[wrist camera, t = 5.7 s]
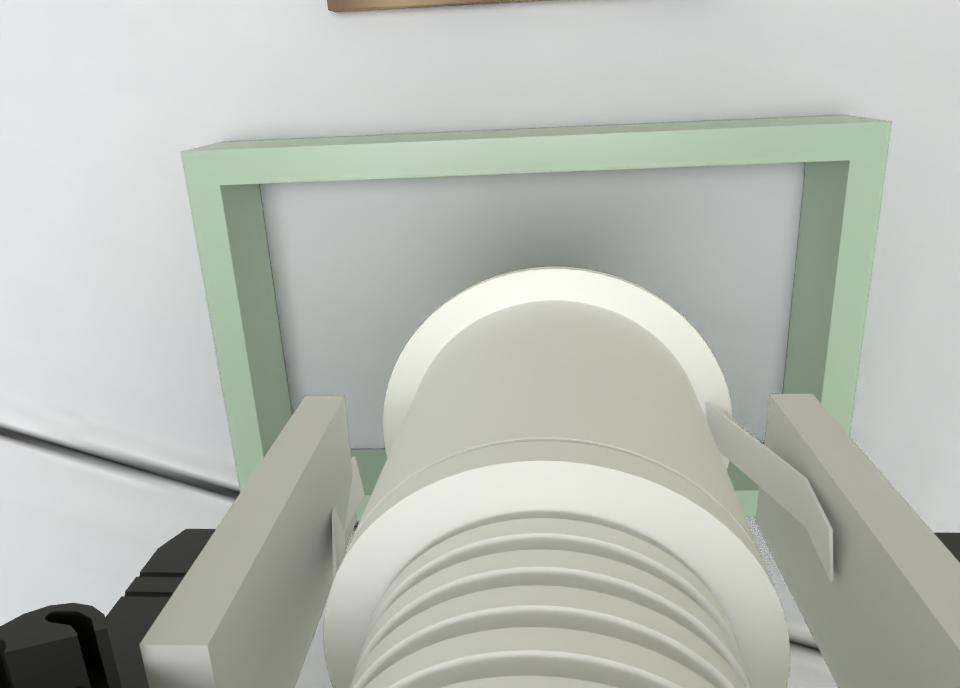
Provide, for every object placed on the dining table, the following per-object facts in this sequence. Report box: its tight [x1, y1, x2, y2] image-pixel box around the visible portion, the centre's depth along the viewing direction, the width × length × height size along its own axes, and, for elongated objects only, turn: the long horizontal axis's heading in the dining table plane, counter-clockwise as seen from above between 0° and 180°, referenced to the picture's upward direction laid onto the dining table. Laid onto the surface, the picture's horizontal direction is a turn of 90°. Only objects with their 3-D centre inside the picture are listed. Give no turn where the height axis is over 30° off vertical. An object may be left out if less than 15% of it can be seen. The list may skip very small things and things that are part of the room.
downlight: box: [323, 267, 833, 688], centre depth 11 cm, size 8×7×10 cm
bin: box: [181, 115, 892, 521], centre depth 30 cm, size 24×15×4 cm, turn 93°
